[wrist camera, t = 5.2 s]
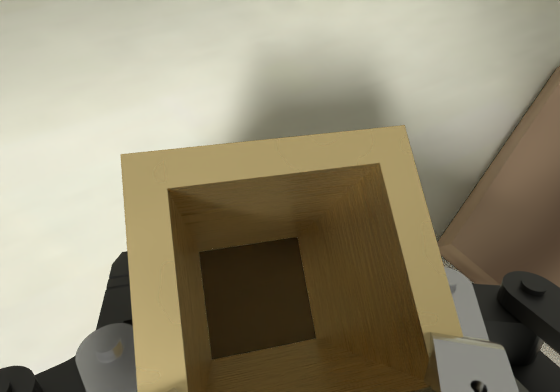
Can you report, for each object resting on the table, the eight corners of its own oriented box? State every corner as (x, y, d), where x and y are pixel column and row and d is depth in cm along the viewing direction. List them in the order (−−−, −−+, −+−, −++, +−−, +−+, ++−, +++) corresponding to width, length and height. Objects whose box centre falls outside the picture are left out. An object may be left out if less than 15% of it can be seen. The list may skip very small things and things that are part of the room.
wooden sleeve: (194, 385, 15) (146, 515, 6) (178, 236, 16) (120, 154, 7) (338, 354, 16) (487, 422, 7) (310, 217, 17) (404, 125, 8)
